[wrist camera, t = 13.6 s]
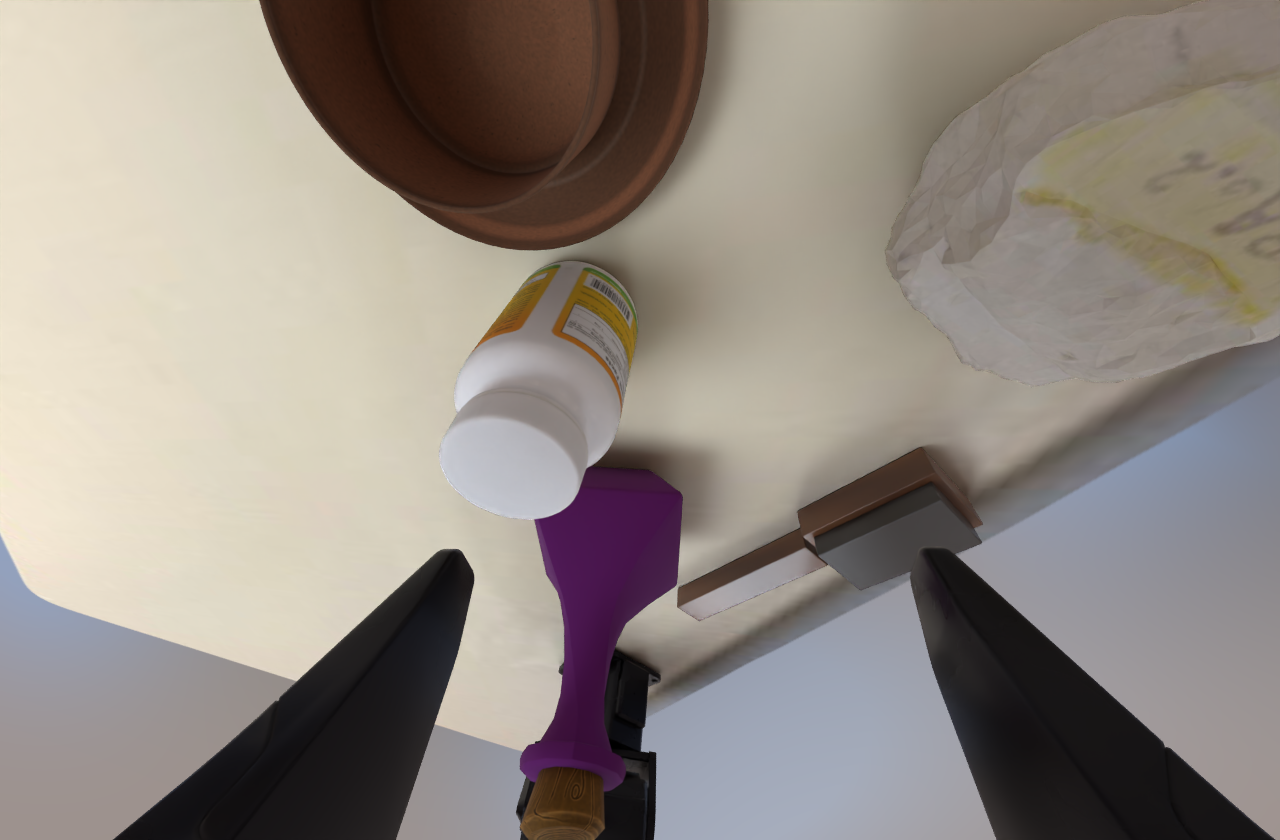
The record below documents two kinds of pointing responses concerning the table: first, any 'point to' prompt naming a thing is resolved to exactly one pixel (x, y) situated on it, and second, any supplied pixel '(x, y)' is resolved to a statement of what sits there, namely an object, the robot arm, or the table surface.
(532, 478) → the supplement bottle
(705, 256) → the table surface
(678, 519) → the perfume bottle
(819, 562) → the hairbrush
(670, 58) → the cup and saucer
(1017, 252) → the fossil replica
